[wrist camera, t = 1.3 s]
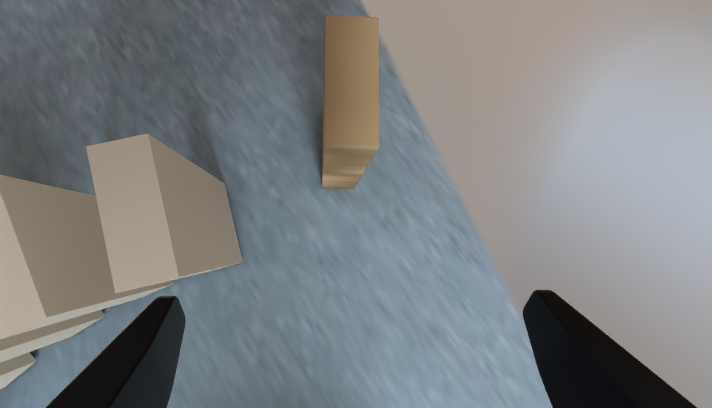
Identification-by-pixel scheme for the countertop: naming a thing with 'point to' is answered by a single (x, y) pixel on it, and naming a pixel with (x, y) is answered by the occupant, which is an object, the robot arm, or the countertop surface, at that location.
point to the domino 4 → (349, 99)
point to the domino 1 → (14, 368)
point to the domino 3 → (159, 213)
